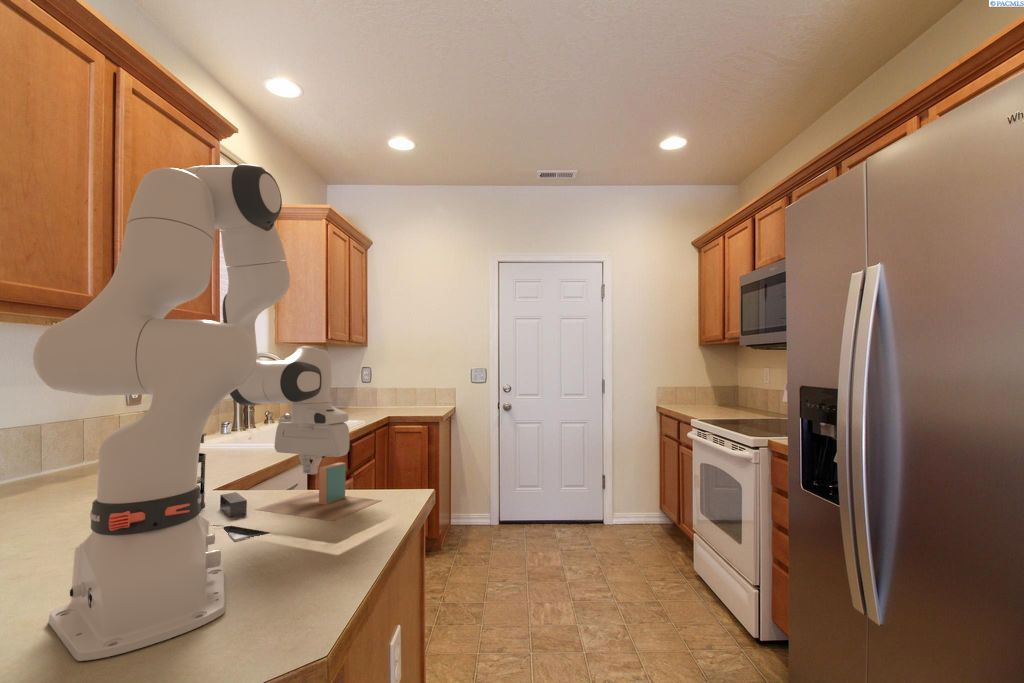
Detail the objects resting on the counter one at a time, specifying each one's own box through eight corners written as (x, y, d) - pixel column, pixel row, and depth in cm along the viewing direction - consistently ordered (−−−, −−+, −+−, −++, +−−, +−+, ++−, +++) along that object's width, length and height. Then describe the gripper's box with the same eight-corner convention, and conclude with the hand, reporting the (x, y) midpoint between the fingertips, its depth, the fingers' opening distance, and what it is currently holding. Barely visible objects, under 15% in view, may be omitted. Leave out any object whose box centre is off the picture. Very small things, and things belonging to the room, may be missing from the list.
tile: (345, 497, 106) (345, 463, 106) (326, 504, 100) (326, 468, 101) (338, 496, 106) (338, 462, 107) (318, 503, 101) (319, 467, 101)
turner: (270, 533, 87) (270, 509, 87) (234, 541, 83) (235, 517, 83) (243, 511, 101) (243, 490, 102) (211, 517, 97) (212, 496, 97)
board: (382, 507, 103) (382, 500, 103) (333, 528, 89) (333, 521, 89) (309, 498, 111) (309, 491, 111) (254, 516, 97) (254, 509, 97)
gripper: (268, 414, 108) (267, 473, 107) (334, 417, 100) (333, 479, 100) (290, 412, 114) (289, 467, 113) (354, 414, 106) (353, 473, 105)
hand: (310, 473), depth 106 cm, fingers closed
